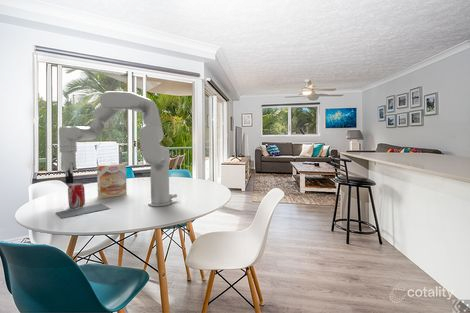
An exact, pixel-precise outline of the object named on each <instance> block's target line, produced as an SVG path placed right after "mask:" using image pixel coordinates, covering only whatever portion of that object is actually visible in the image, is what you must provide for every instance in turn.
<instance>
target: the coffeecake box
mask: <svg viewBox="0 0 470 313" xmlns="http://www.w3.org/2000/svg"><path fill="white" fill-rule="evenodd" d="M96 175H97V176H96V178H97V179H96V180H97V181H96V182H97V197H98V198H99V199H106V198H112V197H113V198H114V197H120V196H126V195H127V164H125V163H112V164H110V163H109V164H96Z"/></svg>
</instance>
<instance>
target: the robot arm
mask: <svg viewBox="0 0 470 313" xmlns="http://www.w3.org/2000/svg"><path fill="white" fill-rule="evenodd" d="M122 110H130V111H134V112H139V113H141V114H142V121H143V126H141V127H140V129H139V130H138V139H139V140H138V141H139V145H140V149H141V153H142V158H143V160H144V161H145V163H147V164H148V165H150V172H149V173H150V200H149V201H148V202H147V204H148V206H150V207H164V206H169V205H172V204H173V199H175V198H178V194H177V193H174V194H172V193H170V160H171V158H170V157H171V156H170V151H169V148H167V147H166V146H164V145H161V144H160V143H161V142H162V141H163V140H164V137H165V136H164V135H165V134H164V130H163V126H162V122H161V121H162V120H161V117H160V112H159V109H158V106H157V104H156V103H155V102H154V101H153V99H150V98H147V97H144V96H142V95H139V94H137V93H134V92H131V91H115V90H114V91H110V90H108V91H104V92H103V93H101V95H100V97H99V105H98V107H96V108H95V109H94V110H93V115H94V117H95V119H94V121H93V122H92V123H90V125H89V126H78V125H76V126H60V127H59V128H58V141H59V143H58V144H59V153H61V155H60V170H62V171H64V172H65V176H64V177H65V179H64V180H65V183H66V184H68V185H69V184H73V183H74V171H76V169H77V163H76V153H77V152H78V151H77V150H78V149H77V148H78V147H77V142H78V141H80V142H81V141H83V142H84V141H92V140H95V139H96V138H97V137H99V135H101V134H102V133H103V132H104V131H105V129H106V127H107V125H108V122H110V121H111V120H112V119H113V118H114V117H115V116H117V115H118V114H119V113H120V112H121V111H122Z"/></svg>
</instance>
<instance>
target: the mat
mask: <svg viewBox="0 0 470 313" xmlns="http://www.w3.org/2000/svg"><path fill="white" fill-rule="evenodd" d="M109 209H111V207H109V206H107V205H105V204H102V203H98V204H92V205H87V206H82V207H80V208H71V209H65V210H60V211H55V214H56V215H57V216H58V217H59V218H60V219H68V218H73V217H77V216H82V215H87V214H90V213H96V212H102V211H105V210H109Z"/></svg>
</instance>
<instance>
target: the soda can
mask: <svg viewBox="0 0 470 313" xmlns="http://www.w3.org/2000/svg"><path fill="white" fill-rule="evenodd" d="M85 193H86V192H85V185H84V184H83V183H82V182H73V183H69V184H68V187H67V198H68V208H71V209H75V208H81V207H85V204H86V195H85Z"/></svg>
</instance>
